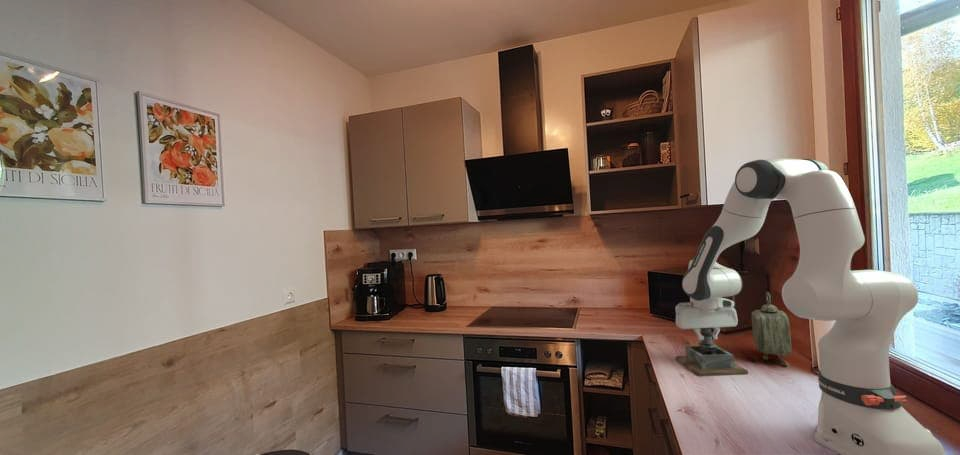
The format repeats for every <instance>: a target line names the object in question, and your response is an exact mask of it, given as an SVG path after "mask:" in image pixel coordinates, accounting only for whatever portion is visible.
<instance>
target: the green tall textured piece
mask: <svg viewBox="0 0 960 455" xmlns="http://www.w3.org/2000/svg"><path fill="white" fill-rule="evenodd" d="M765 299H766V304H763V305H762V306H761V307H760V309H756V310H753V311H751V313H750V315H751V326H752V337H753V343H754V346H755V349H756V350H758V351H760V352H762V353H763V354H764V355H763V356H762V358H763V360H765V361H768V360H769V356H768V355H769V354H771V355H776V356H778V358H779V359H780V360H781V361H782V363H781V364H782V366H783V367H789V363H788V362H787V361H785V359H784V358H783V356H793V355H792V354H793V353H792V352H793V351H792V350H793V349H792V336H791V326H790V320H789V317H788V316H787V314H786V312H784V311H783V310H779V309H778V307H777V306H776V305H774V304H772V299H771V294H770V292H769V291H765Z"/></svg>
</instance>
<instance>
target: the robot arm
mask: <svg viewBox="0 0 960 455" xmlns="http://www.w3.org/2000/svg"><path fill="white" fill-rule="evenodd" d="M775 199H776V200H785V201H787V202H788V203H789V205H790V207H791V208H790V209H791V213H792V217H793V220H794V224H795V230H796V234H797V238H798V244H799V260H798V263H797V266H796V269H795V270H794V273H793V274H792V275H791V276H790V277H789V278H788V279H787V280H786V281H785V282H784V284H783V286H782V289H781V297H782V301H783V303H784V305H785V307H786V308H787V309H788V311H790V312H791V313H792V314H793V315H794V316H796V317H798V318H801V319H807V320H812V321H823V322H831V321H832V322H833V321H835V322H834V324H833V326H832V327H831V328H830V330H829V331H827V332H826V333H825V334H823V335H822V336H821V337H820V339H819V341H818V343H817V344H818V346H817V348H818V358H819V367H820V368H819V369H820V371H819V372H818V377H817V382H818V387H819V389H820V390H821V396H820V400H819V403H818V410H817V412H818V414H817V425H816V428H815V433H814V437H813V439H814V441H815V442H816V443H819V444H820V445H822V446H824V447H826V448H828V449H830V450H832V451H834V452H835V453H838V454H840V455H946V452H945V449H944V447H943V445H942V443H941V442H940V441H939V440H938V439H937V438H936V437H935V436H934V435H933V432H931V431H930V430H929V429H928V428H925V427H924V426H923V425H922V424H921V423H920V422H919V421H918V420H916V419H915V418H914V416H912V415H911V413H909V412H908V411H907V410H906V409H905V408H904V407H903V404H902V403H903V402H907V401H908V400H907V399H905V398H907V396H906V395H898V393H897V390H896V389H895V387H894V385H893V384H892V383H891V376H890V375H891V373H890V359H889V358H890V355H889V354H890V346H891V343H892V339H893V336H894V334H895V331H896V329H897V327H898V325H899V323H900V322H901V320H902V319H903V318H904V316H905V315H906V314H908V313H909V312H911V311H912V310H913V309H914V308H915V307H916V306H917V304H918V302H919V292H918V290H917V287H916V285H915V284H914V283H913V282H912V281H911V280H910V279H909V278H908V277H906V276H904V275H902V274H900V273H897V272H892V271H886V270H878V269H859V270H858V269H856V270H851V263H852V258H853V256H854V254H855V253H856V252H857V251H858V250H860V249H862V247H863V246H864V244H865V241H866V238H865V234H864V231H863V227H862V224H861V221H860V218H859V214H858V210H857V208H856V205H855V202H854V199H853V197H852V195H851V192H850V191H849V189H848V187H847V185H846V184H845V182H844V180H843V179H842V177H841V176H840V175H839V174H838V173H837V172H835V171H833V170H829V168H828V167H827V165H826V164H825V163H823V162H821V161H819V160H815V159H811V158H786V157H781V158H780V157H778V158H776V157H775V158H769V159H768V158H767V159H756V160H752V161H748V162H746V163H744V164H743V165H741V166H740V167H739V168H738V169H737V171H736V174H735V177H734V181H733V183H732V184H731V187H730V189H729V191H728V193H727V195H726V198H725V201H724V204H723V206H722V209H721V212H720V214H719V216H718V218H717V220H716V221H715V223H714V224H713V225H712V226H711V227H710V228H708V230H707V231H706V232H705V234H704V236H703V238H702V239H701V242H700V244H699V246H698V249H697V251H696V253H695V255H694V257H693V258H692V259H690V260H689V261H688V262H689V263H688V268H687V271H685V273H684V275H683V277H682V280H681V287H682V290H683V292H684V293H685V294H686V296H688V297H689V301H690V302H679V303H677V304H676V306H675V309H674V310H675V325H676V327H678V328H679V329H681V330H688V329H689V330H692V329H693V330H692V331H693V332H694V333H695V334H696V336H697V337H696V338H697V340H698V341H702V340H704V335H702V334H701V333H700V332H701V329H702V328H711V329H713V332H712V334H713V335H712V341H715V340H716V341H717V340H718V335H719V333H720V332H721V328H732V327H734V328H735V327H737V325H738V324H739V323H738V322H739V320H738V314H737V310H736V309H735V308H734V306H735V301H733V300H731V299H729V298H725V297H732V296H733V297H734V296H736V295H739V294H740V293H741V291H742V290H743V287H744V286H743V285H744V282H743V279H742V276H741V275H740V274H739V272H738V271H736V270H735V269H733V268H729V267H727V266H724V265H722V264H721V263H720V264H719V263H718V261H717V260H718V258H719V256H720V255H721V253H722V252H723V251H724V250H726V249H727V248H729V247H732V246H733V245H736V244H738V243H740V242H742V241H743V242H744V241H745V240H749V239H750V238H753V237H754V236H755V235H757V234H758V232H760V230H761V228H762V227H763V225H764V223H765V221H766V217H767V215H768V214H767V213H768V211H769V207H770V205H771V202H773V201H774V200H775Z"/></svg>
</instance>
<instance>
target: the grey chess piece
mask: <svg viewBox="0 0 960 455" xmlns="http://www.w3.org/2000/svg"><path fill="white" fill-rule="evenodd" d="M700 334H702V335H704V340H701V341H699V343H698V346H700V348H701V350H702V351H703V352H701V353H700V354H702V355H716V353H714V352H715V351H716V349H717V347H718V344H717V343H714V340H712V335H713V333H712V328H701V333H700Z"/></svg>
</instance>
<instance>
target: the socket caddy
mask: <svg viewBox="0 0 960 455" xmlns="http://www.w3.org/2000/svg"><path fill="white" fill-rule="evenodd" d="M684 348H685V355H675V360H676V361H677V362H679V363H680V364H682V365H683V366H684V367H686V368H688V370H690V371H691V372H693V373H694V374H695V375H697V376H698V377H714V376H715V377H716V376H739V375H749V371H748V370H747V369H746V368H744V367H742V366H740V365H739V364H736V363H735V355H734V354H733V353H731V352H729V351H727V350H726V349H724V348H721V347H719V346H717V349H716V351H715V352H714V353H716V355H702V354H700V353H701V352H703V351H702V350H701V348H700V345H691V346H690V345H687V346H685V347H684Z"/></svg>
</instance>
